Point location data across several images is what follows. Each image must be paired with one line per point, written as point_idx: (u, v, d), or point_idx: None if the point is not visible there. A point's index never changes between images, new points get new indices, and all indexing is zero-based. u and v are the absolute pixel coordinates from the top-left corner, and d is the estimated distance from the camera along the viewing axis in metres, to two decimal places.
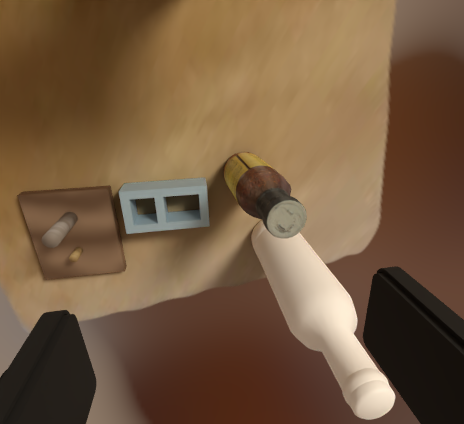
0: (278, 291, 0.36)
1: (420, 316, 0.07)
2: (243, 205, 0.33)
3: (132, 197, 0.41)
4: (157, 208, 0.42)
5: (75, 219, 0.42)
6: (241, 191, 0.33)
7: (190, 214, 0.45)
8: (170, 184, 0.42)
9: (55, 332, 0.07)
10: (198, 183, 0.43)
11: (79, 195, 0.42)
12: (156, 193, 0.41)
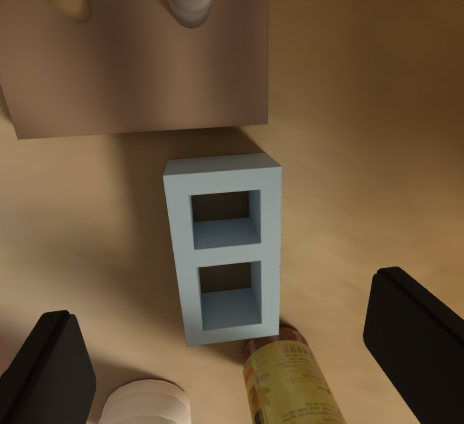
0: None
1: (420, 316, 0.07)
2: None
3: (265, 197, 0.17)
4: (233, 249, 0.18)
5: (192, 24, 0.14)
6: None
7: None
8: None
9: (55, 332, 0.07)
10: None
11: (255, 47, 0.16)
12: (270, 247, 0.18)
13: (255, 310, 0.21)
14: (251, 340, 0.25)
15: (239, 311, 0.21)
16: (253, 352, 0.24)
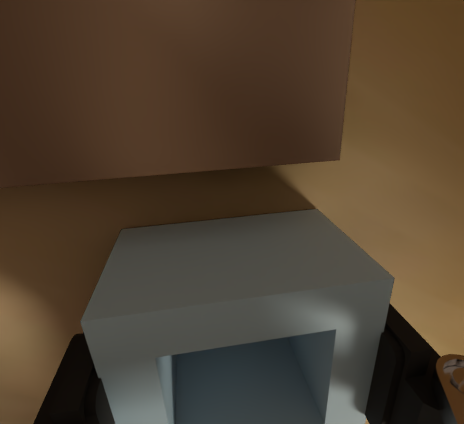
0: None
1: None
2: None
3: (345, 343, 0.07)
4: None
5: None
6: None
7: None
8: None
9: None
10: None
11: None
12: None
13: None
14: None
15: None
16: None
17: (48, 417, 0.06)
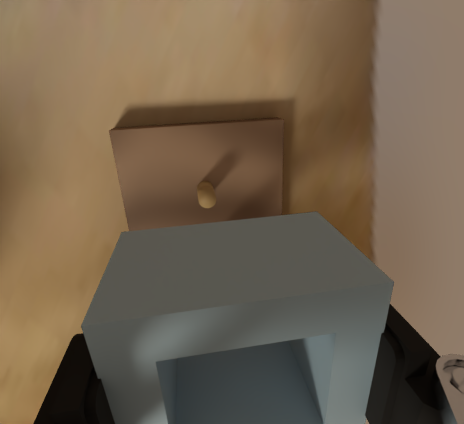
0: None
1: None
2: None
3: (345, 347, 0.07)
4: None
5: None
6: None
7: None
8: None
9: None
10: None
11: None
12: None
13: None
14: None
15: None
16: None
17: (48, 417, 0.06)
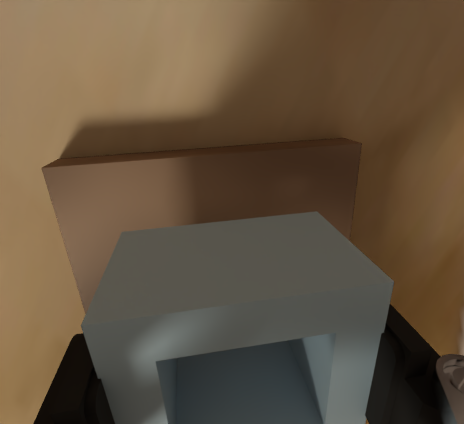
0: None
1: None
2: None
3: (345, 346, 0.07)
4: None
5: None
6: None
7: None
8: None
9: None
10: None
11: None
12: None
13: None
14: None
15: None
16: None
17: (48, 417, 0.06)
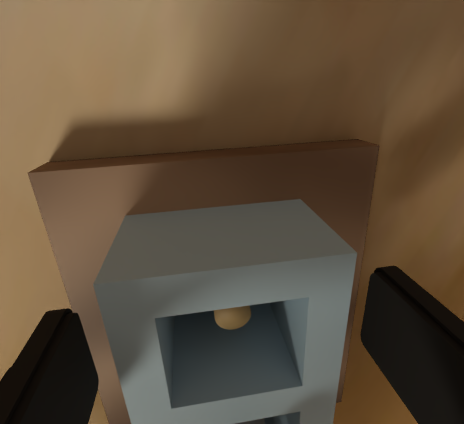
0: None
1: (416, 315, 0.07)
2: None
3: (317, 310, 0.08)
4: (250, 400, 0.09)
5: None
6: None
7: None
8: None
9: (58, 330, 0.07)
10: None
11: None
12: (319, 390, 0.09)
13: None
14: None
15: None
16: None
17: None
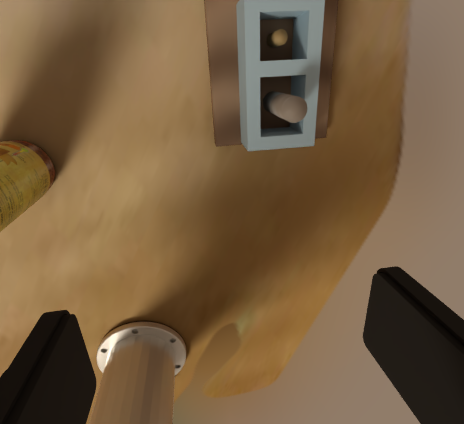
0: None
1: (420, 316, 0.07)
2: None
3: (312, 17, 0.23)
4: (287, 62, 0.25)
5: (264, 103, 0.29)
6: None
7: None
8: None
9: (55, 332, 0.07)
10: None
11: None
12: (313, 63, 0.25)
13: (296, 131, 0.29)
14: (36, 147, 0.29)
15: (284, 132, 0.28)
16: (30, 149, 0.28)
17: None
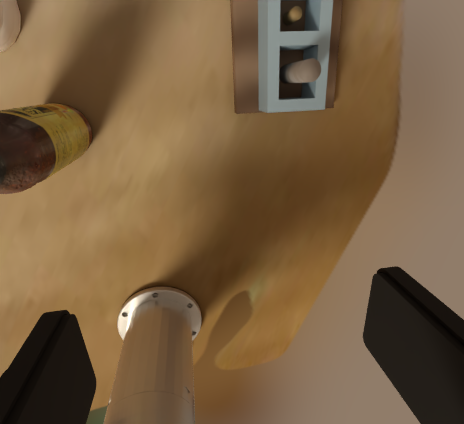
0: None
1: (420, 316, 0.07)
2: (31, 146, 0.22)
3: None
4: (303, 33, 0.29)
5: (280, 74, 0.33)
6: (42, 165, 0.23)
7: None
8: None
9: (55, 332, 0.07)
10: None
11: None
12: (324, 34, 0.29)
13: (308, 98, 0.33)
14: (78, 111, 0.33)
15: (298, 98, 0.33)
16: (73, 111, 0.32)
17: None
